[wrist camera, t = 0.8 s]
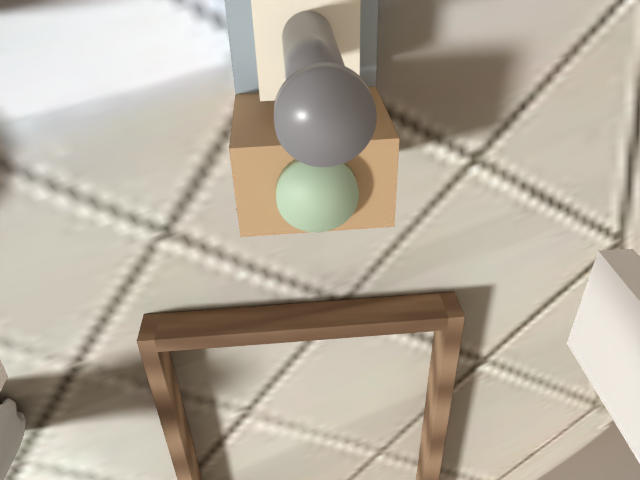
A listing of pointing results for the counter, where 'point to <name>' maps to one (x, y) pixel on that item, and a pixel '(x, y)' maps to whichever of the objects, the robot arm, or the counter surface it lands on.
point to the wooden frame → (304, 325)
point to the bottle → (10, 434)
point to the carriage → (314, 78)
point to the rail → (290, 174)
